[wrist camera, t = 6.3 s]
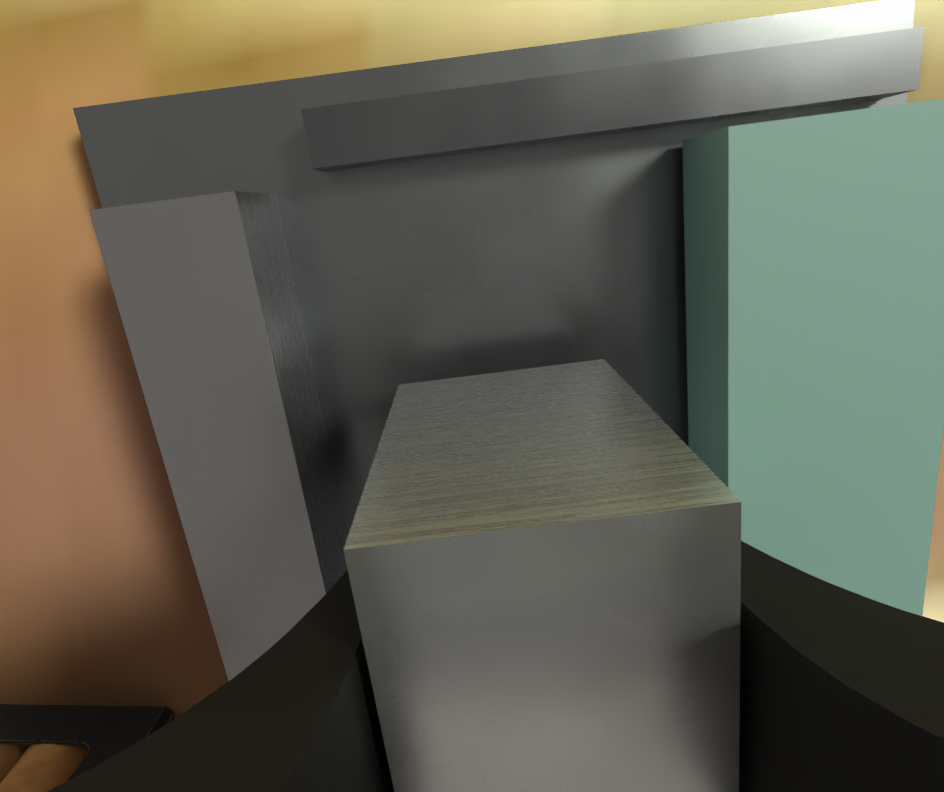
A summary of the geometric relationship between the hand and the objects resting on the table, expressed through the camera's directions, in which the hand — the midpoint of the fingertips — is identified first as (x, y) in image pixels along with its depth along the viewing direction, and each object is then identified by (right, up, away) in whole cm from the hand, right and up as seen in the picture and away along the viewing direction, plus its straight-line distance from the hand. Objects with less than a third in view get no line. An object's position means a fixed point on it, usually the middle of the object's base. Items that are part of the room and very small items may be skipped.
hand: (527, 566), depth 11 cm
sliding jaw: (+6, +2, +3) cm, 7 cm away
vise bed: (0, +1, +4) cm, 4 cm away
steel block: (0, 0, +2) cm, 2 cm away
